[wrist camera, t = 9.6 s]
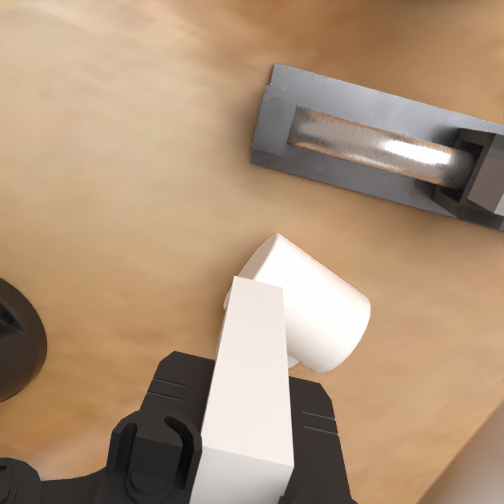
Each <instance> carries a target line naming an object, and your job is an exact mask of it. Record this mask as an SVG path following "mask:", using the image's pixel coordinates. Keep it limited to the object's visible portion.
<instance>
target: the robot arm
mask: <svg viewBox="0 0 504 504" xmlns="http://www.w3.org/2000/svg"><path fill="white" fill-rule="evenodd" d="M46 351H47V341H46V335H45V331H44V327H43V325H42V322H41V320H40V318H39V316H38V314H37V313H36V311H35V309H34V308H33V307H32V305H31V304H30V303H29V301H28V300H27V299H26V298H25V297H24V296H23V295H22V294H21V293H20V292H19V291H18V290H17V289H15V288H14V287H13V286H11V285H10V284H9V283H7V282H6V281H4V280H2V279H1V278H0V402H3V401H5V400H7V399H9V398H11V397H13V396H15V395H16V394H18V393H19V392H20V391H22V390H23V389H24V388H25V387H26V386H27V385H28V384H29V383H30V382H31V380H32V379H33V378H34V377H35V376H36V375H37V374H38V372H39V371H40V369H41V368H42V366H43V364H44V361H45V357H46ZM334 419H335V416H334V411H333V406H332V401H331V399H330V397H329V396H328V394H327V393H326V392H325V390H324V389H323V387H322V386H321V384H320V383H316V382H312V381H308V380H303V379H299V378H295V377H290V376H288V363H287V347H286V331H285V316H284V300H283V287H279V286H275V285H271V284H267V283H262V282H258V281H254V280H250V279H246V278H242V277H238V276H234V279H233V283H232V287H231V291H230V295H229V299H228V303H227V307H226V311H225V315H224V319H223V323H222V327H221V331H220V335H219V339H218V343H217V347H216V351H215V355H214V360H211V359H207V358H202V357H198V356H194V355H189V354H185V353H181V352H177V351H173V352H172V353H171V354H170V355H168V356H167V357H166V358H164V359H163V360H162V361H160V363H159V365H158V368H157V370H156V372H155V375H154V377H153V380H152V382H151V384H150V386H149V389H148V391H147V394H146V396H145V398H144V400H143V403H142V405H141V407H140V410H139V411H135V412H134V413H132V414H130V415H128V416H127V417H125V418H123V419H121V421H120V422H119V423H118V424H117V426H116V427H115V428H114V429H113V431H112V434H111V440H110V446H109V453H108V459H107V465H106V467H104V468H103V469H101V470H99V471H97V472H95V473H92V474H89V475H87V476H83V477H78V478H72V479H61V480H49V481H41V480H40V478H39V475H38V472H37V471H36V470H35V469H33V468H32V467H31V466H30V465H28V464H27V463H26V462H24V461H20V460H16V459H12V458H0V504H358V503H357V502H356V501H354V500H353V499H352V498H351V495H350V490H349V485H348V480H347V475H346V470H345V465H344V460H343V455H342V450H341V445H340V440H339V436H337V434H338V430H337V425H336V421H334Z"/></svg>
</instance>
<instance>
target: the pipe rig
mask: <svg viewBox="0 0 504 504" xmlns="http://www.w3.org/2000/svg"><path fill="white" fill-rule="evenodd" d="M461 128H466V129H472V130H478V131H485V132H491V133H497V134H500V135H504V125H501V124H497V123H494V122H490V121H487V120H483V119H479V118H476V117H472V116H468V115H465V114H461V113H457V112H454V111H450V110H446V109H443V108H439V107H435V106H432V105H428V104H425V103H421V102H417V101H414V100H410V99H406V98H403V97H399V96H395V95H392V94H388V93H384V92H381V91H377V90H373V89H370V88H366V87H363V86H359V85H355V84H352V83H348V82H344V81H341V80H337V79H333V78H330V77H326V76H322V75H319V74H315V73H312V72H308V71H304V70H301V69H297V68H293V67H290V66H286V65H282V64H279V63H275V66H274V70H273V74H272V78H271V82H270V85H266V88H265V92H264V96H263V100H262V104H261V108H260V112H259V116H258V120H257V124H256V128H255V132H254V136H253V140H252V144H251V148H254V149H253V153H252V157H251V161H250V163H254V164H257V165H261V166H265V167H268V168H272V169H276V170H279V171H283V172H287V173H290V174H294V175H298V176H301V177H305V178H309V179H313V180H316V181H320V182H324V183H327V184H331V185H335V186H338V187H342V188H346V189H349V190H353V191H357V192H360V193H364V194H368V195H372V196H375V197H379V198H383V199H386V200H390V201H394V202H397V203H401V204H405V205H408V206H412V207H416V208H419V209H423V210H427V211H431V212H434V213H438V214H442V215H445V216H449V217H453V218H456V219H458V218H457V217H455V216H454V215H452V214H451V213H449V212H448V211H447V210H445V209H444V208H442V207H441V206H439V205H438V204H436V203H435V202H434V201H432V200H431V198H432V196H433V193H434V191H435V189H436V186H437V185H441V186H444V187H448V188H452V189H455V190H459V192H460V193H461V194H462V195H463V193H464V190H465V188H466V186H467V184H468V181H469V179H470V177H471V175H472V172H473V170H474V168H475V166H476V163H477V161H478V159H479V157H480V154H481V152H477V153H475V154H473V153H469V152H465V151H462V150H458V149H454V148H453V146H454V143H455V141H456V138H457V136H458V134H459V131H460V129H461ZM460 220H461V219H460ZM464 221H465V220H464ZM467 222H469V221H467ZM471 223H472V222H471ZM475 224H476V223H475ZM478 225H480V224H478ZM482 226H483V225H482ZM486 227H487V226H486ZM490 228H491V227H490ZM493 229H495V228H493ZM497 230H498V229H497ZM499 230H501V231H504V220H503V222H502V224H501V226H500V228H499Z"/></svg>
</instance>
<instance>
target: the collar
mask: <svg viewBox="0 0 504 504" xmlns="http://www.w3.org/2000/svg"><path fill="white" fill-rule="evenodd" d="M453 148H454V149H458V150H462V151H465V152H469V153H473V154H475V153H477V152H481V154H480V157H479V159H478V161H477V163H476V166H475V168H474V170H473V172H472V175H471V177H470V179H469V181H468V184H467V186H466V188H465V190H464V193H463V195H462V194H461V193H460V192H459V190H455V189H452V188H448V187H444V186H441V185H437V186H436V189H435V191H434V193H433V196H432V198H431V200H432V201H434V202H435V203H436V204H438V205H439V206H441V207H442V208H444V209H445V210H447V211H448V212H449V213H451V214H452V215H454V216H455V217H457V218H458V219H461V220H465V221H469V222H472V223H476V224H480V225H483V226H487V227H491V228H495V229H498V230H499V228H500V226H501V224H502V222H503V220H504V135H500V134H497V133H491V132H485V131H478V130H472V129H466V128H461V129H460V131H459V134H458V136H457V138H456V141H455V143H454V146H453Z"/></svg>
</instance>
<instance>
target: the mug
mask: <svg viewBox="0 0 504 504" xmlns="http://www.w3.org/2000/svg"><path fill="white" fill-rule="evenodd" d="M238 277H242V278H246V279H250V280H254V281H258V282H262V283H267V284H271V285H275V286H279V287H283V300H284V316H285V331H286V347H287V363H288V368H290V367H292V366H294V365H296V364H297V363H299V362H301V363H303V364H304V365H306V366H307V367H309V368H310V369H311V370H313V371H315V372H317V373H324V372H328V371H330V370H332V369H334V368H335V367H337V366H338V365H339V364H341V363H342V362H343V361H344V360H345V359H346V358H347V357H348V356H349V355H350V354H351V352H352V351H353V350H354V349H355V347H356V346H357V344H358V343H359V341H360V339H361V338H362V336H363V334H364V332H365V330H366V327H367V325H368V321H369V318H370V302H369V300H368V298H367V297H366V296H364V295H363V294H362V293H360V292H359V291H358V290H356V289H355V288H353V287H352V286H351V285H349V284H348V283H347V282H345V281H344V280H342V279H341V278H340V277H338V276H337V275H336V274H334V273H333V272H331V271H330V270H329V269H327V268H326V267H325V266H323V265H322V264H320V263H319V262H318V261H316V260H315V259H314V258H312V257H311V256H309V255H308V254H307V253H305V252H304V251H303V250H301V249H300V248H298V247H297V246H296V245H294V244H293V243H292V242H290V241H289V240H287V239H286V238H285V237H283V236H282V235H281V234H279V233H275V234H272V235H271V236H270V237H268V238H267V239H266V240H265V241H264V242H263V243H262V244H261V245H260V246H259V248H258V249H257V250H256V251H255V252H254V254H253V255H252V256H251V257H250V259H249V260H248V261H247V263H246V264H245V266H244V267H243V269H242V270H241V271H240V273H239V274H238ZM231 287H232V286H231ZM230 291H231V288H230V290H229V292H228V294H227V296H226V298H225V301H224V305H223V308H224V310H225V311H226V307H227V303H228V299H229V295H230Z"/></svg>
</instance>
